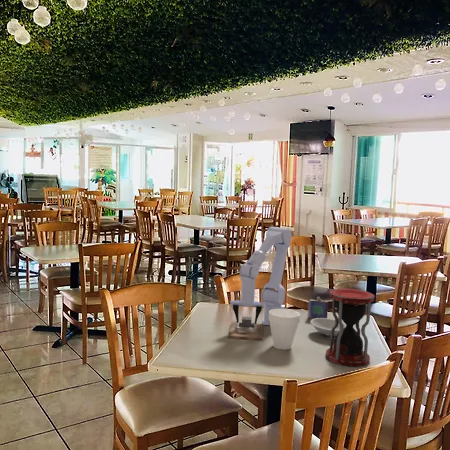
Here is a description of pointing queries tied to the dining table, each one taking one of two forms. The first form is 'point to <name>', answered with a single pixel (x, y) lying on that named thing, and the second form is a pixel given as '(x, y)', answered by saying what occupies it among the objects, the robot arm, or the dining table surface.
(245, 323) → the grey matte cube
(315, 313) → the flask
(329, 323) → the dish
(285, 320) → the cup
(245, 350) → the dining table surface
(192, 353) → the dining table surface
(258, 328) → the dock
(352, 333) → the hourglass
